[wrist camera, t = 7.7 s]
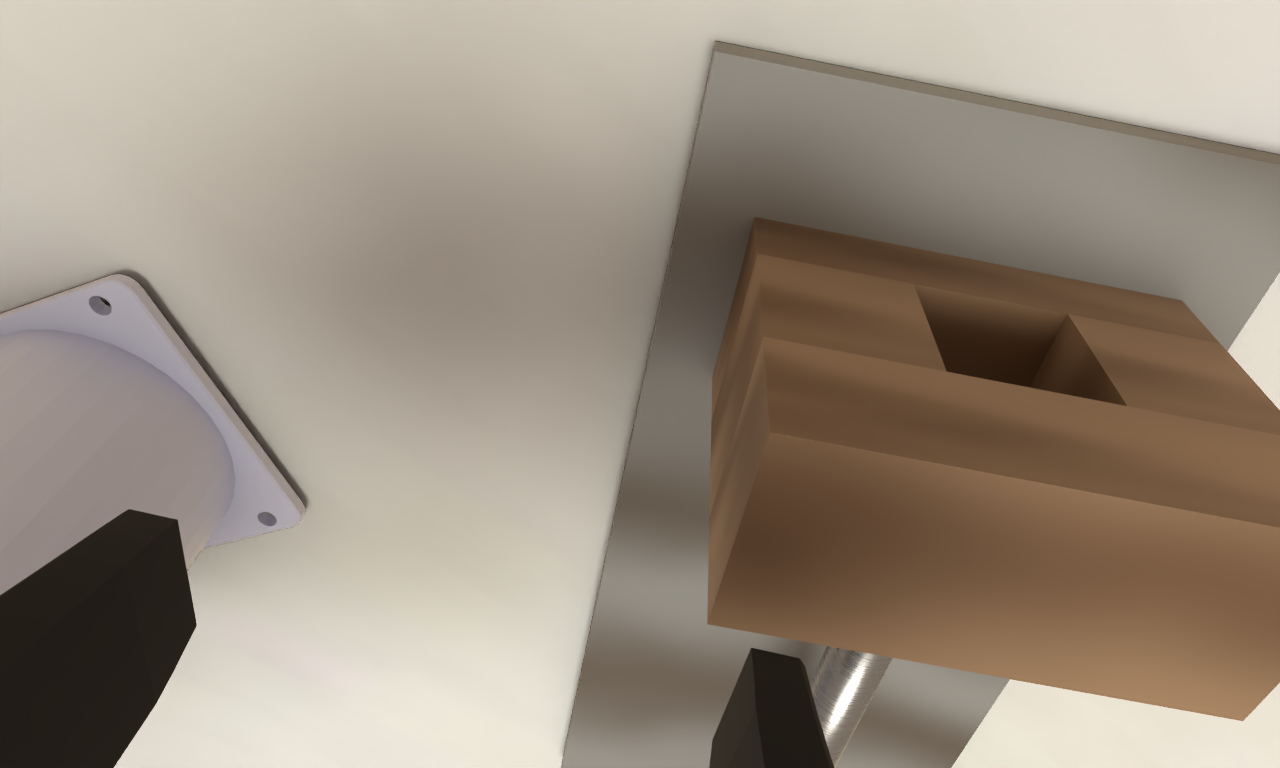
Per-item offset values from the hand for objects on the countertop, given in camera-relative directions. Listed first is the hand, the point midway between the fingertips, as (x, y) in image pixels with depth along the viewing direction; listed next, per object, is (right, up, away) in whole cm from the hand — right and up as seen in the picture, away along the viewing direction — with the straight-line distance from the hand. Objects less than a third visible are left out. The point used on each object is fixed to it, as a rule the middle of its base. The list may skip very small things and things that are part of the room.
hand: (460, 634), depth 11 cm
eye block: (+8, -1, +13) cm, 15 cm away
